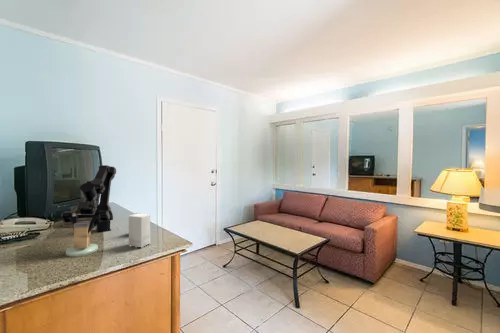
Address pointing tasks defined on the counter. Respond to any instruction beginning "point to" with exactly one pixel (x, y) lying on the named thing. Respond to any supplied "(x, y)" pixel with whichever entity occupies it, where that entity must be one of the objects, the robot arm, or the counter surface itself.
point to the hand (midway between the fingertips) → (81, 232)
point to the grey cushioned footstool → (82, 234)
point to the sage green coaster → (81, 251)
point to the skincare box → (139, 230)
